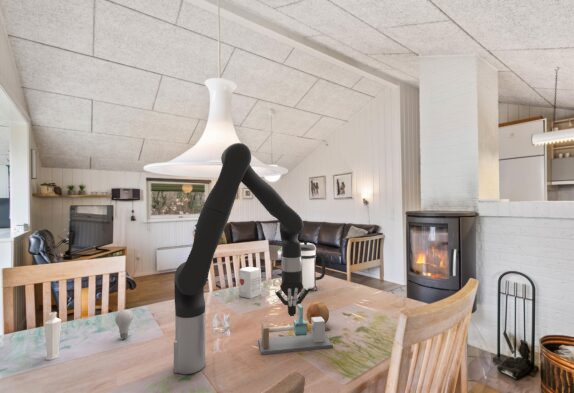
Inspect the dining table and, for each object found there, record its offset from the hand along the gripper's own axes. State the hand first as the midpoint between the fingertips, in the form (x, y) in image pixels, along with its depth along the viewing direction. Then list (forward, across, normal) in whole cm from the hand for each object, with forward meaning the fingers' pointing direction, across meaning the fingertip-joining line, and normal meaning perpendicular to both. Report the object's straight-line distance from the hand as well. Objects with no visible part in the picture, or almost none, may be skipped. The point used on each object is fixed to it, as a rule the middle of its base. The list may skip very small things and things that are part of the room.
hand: (291, 315), depth 109 cm
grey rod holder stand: (+11, +1, 0) cm, 11 cm away
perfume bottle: (+11, -82, +7) cm, 83 cm away
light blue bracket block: (+7, +3, 0) cm, 7 cm away
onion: (+11, +14, +14) cm, 23 cm away
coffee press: (+11, +23, +66) cm, 71 cm away
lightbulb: (+11, -63, +17) cm, 66 cm away
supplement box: (+11, -12, +60) cm, 62 cm away
